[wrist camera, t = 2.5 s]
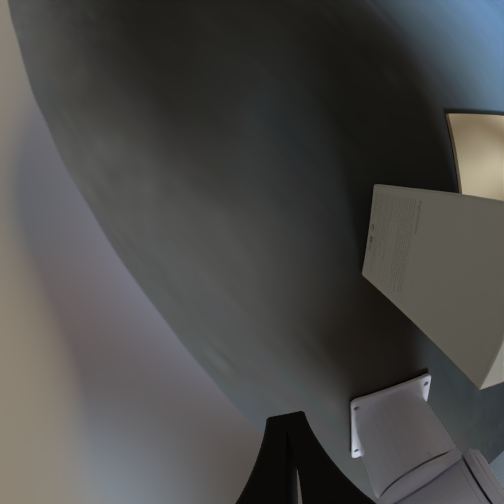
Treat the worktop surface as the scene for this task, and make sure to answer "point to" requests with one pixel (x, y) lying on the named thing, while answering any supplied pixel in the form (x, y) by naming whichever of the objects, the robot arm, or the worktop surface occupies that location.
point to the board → (478, 153)
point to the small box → (443, 271)
